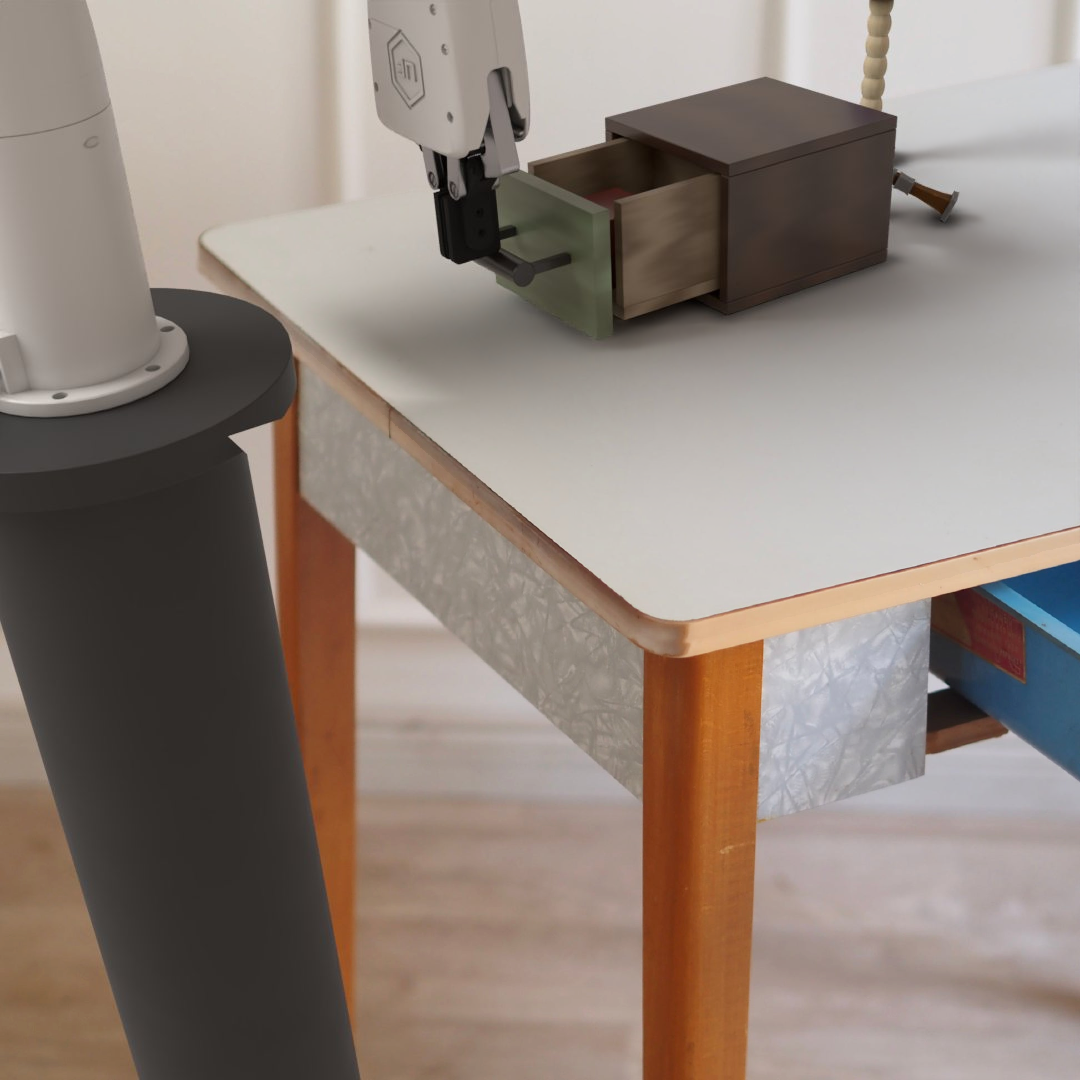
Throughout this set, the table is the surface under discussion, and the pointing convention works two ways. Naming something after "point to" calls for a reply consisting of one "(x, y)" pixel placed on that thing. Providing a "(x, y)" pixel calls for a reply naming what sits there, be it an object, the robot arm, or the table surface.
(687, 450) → the table surface
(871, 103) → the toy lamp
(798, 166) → the cabinet
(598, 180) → the drawer
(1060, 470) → the table surface
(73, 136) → the robot arm
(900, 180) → the wooden post with brackets
